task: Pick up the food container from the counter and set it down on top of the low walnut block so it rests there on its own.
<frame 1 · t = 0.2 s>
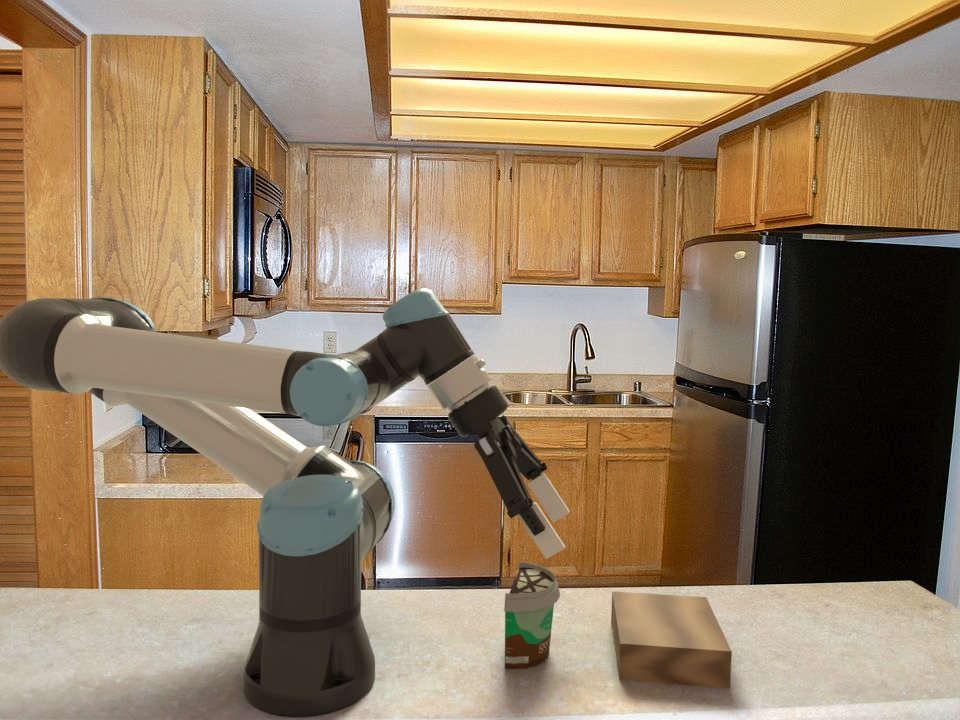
hand: (559, 534, 96), 15 cm above the countertop, tool tilted 35°, fingers open, 13 cm apart
walnut block: (665, 655, 96), on the countertop
food container: (534, 655, 95), on the countertop
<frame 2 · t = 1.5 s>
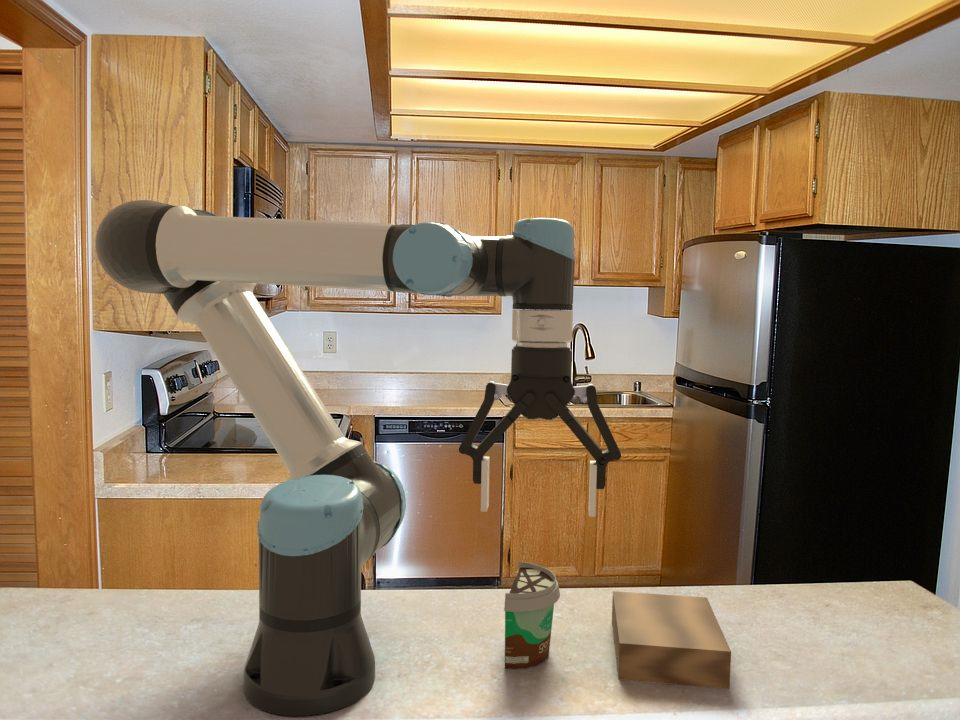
hand: (537, 511, 93), 19 cm above the countertop, tool pointing down, fingers open, 13 cm apart
nothing on the countertop moved.
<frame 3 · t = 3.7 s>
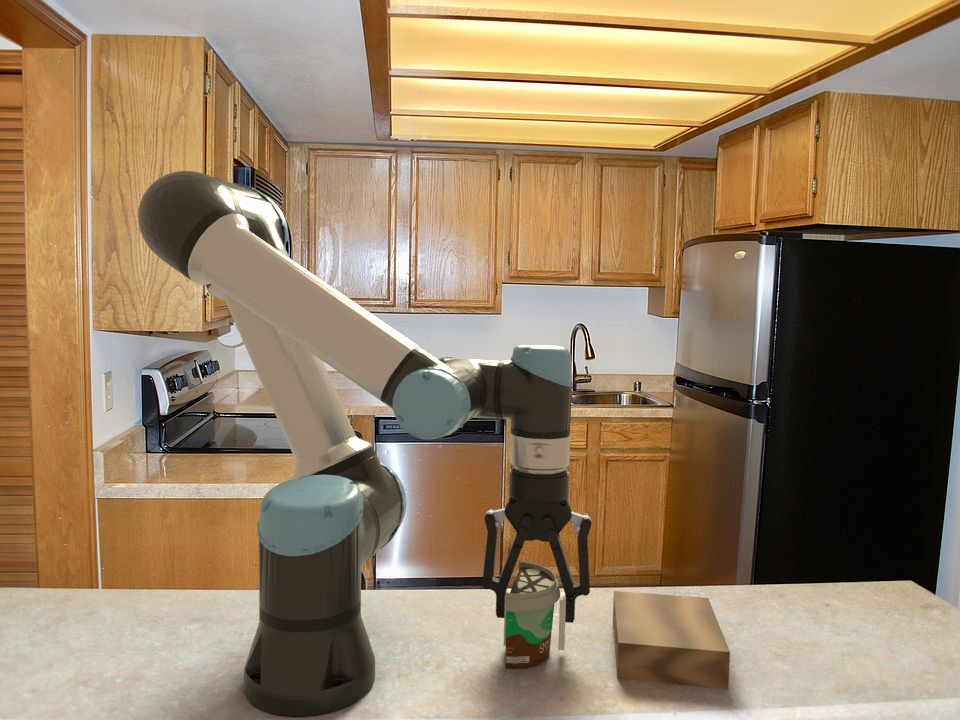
hand: (534, 642, 95), 1 cm above the countertop, tool pointing down, fingers closed on food container, 6 cm apart
food container: (534, 655, 95), on the countertop, touching gripper
everything else where it was.
when the fingers open (7 cm above the countertop, at t = 8.1 s): food container drops 1 cm, resting on walnut block.
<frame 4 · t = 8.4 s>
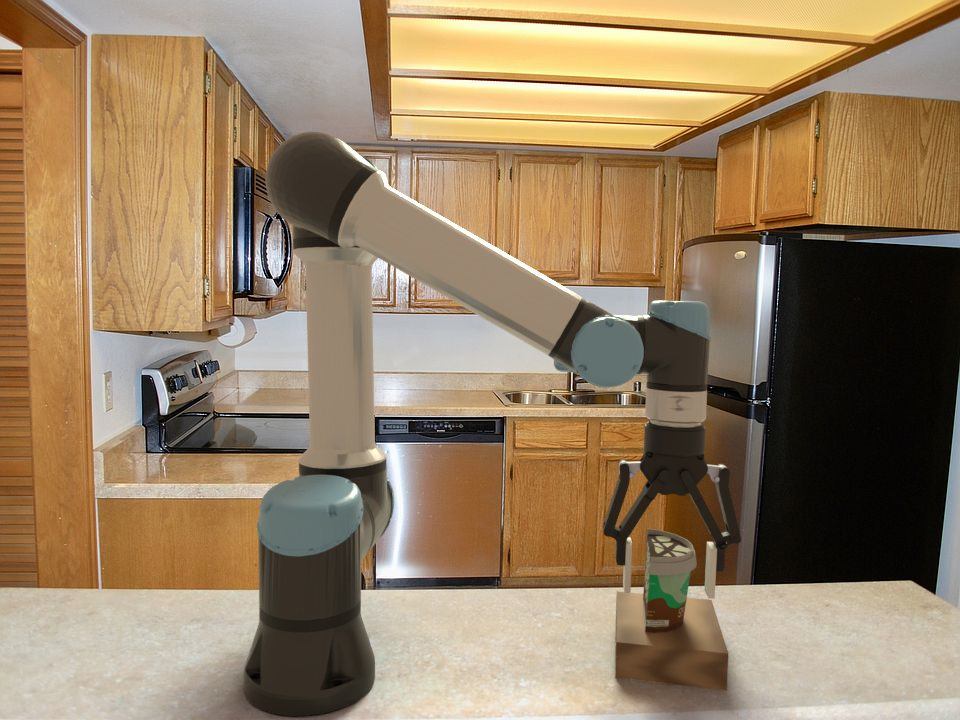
hand: (667, 591, 95), 8 cm above the countertop, tool pointing down, fingers open, 10 cm apart
walnut block: (665, 656, 96), on the countertop, touching food container
food container: (667, 620, 96), point 4 cm above the countertop, touching walnut block
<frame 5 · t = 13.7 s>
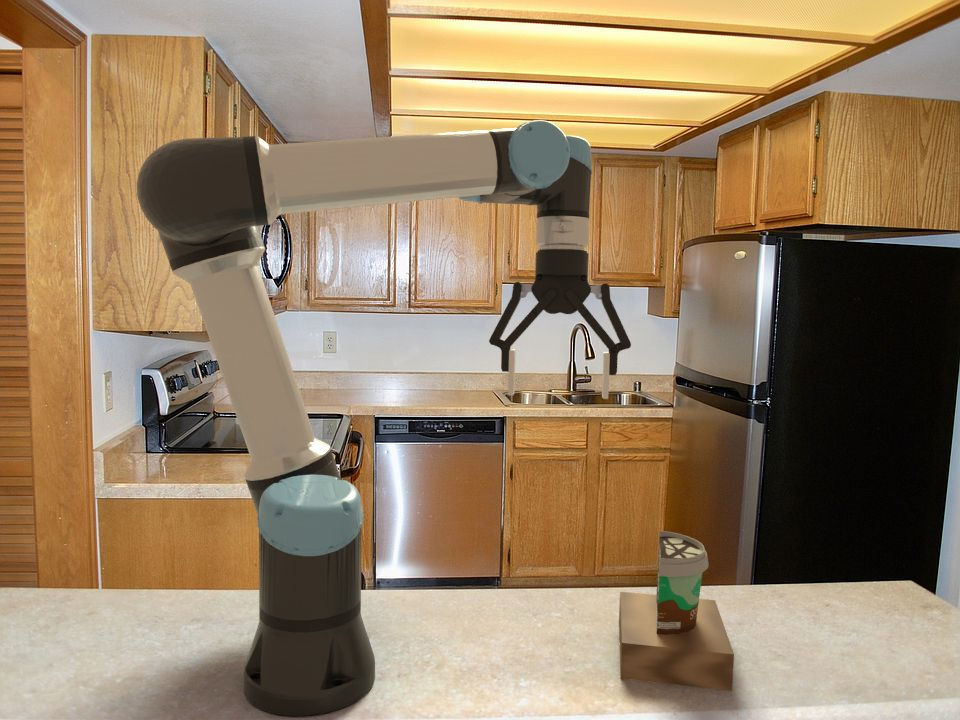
hand: (557, 396, 107), 32 cm above the countertop, tool pointing down, fingers open, 13 cm apart
food container: (680, 622, 95), point 4 cm above the countertop, touching walnut block
everything else where it was.
at the end: food container inside the target area on the walnut block (1.0 cm from its centre), point 4.8 cm above the walnut block's base; food container tilted 0°; food container touching walnut block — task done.
